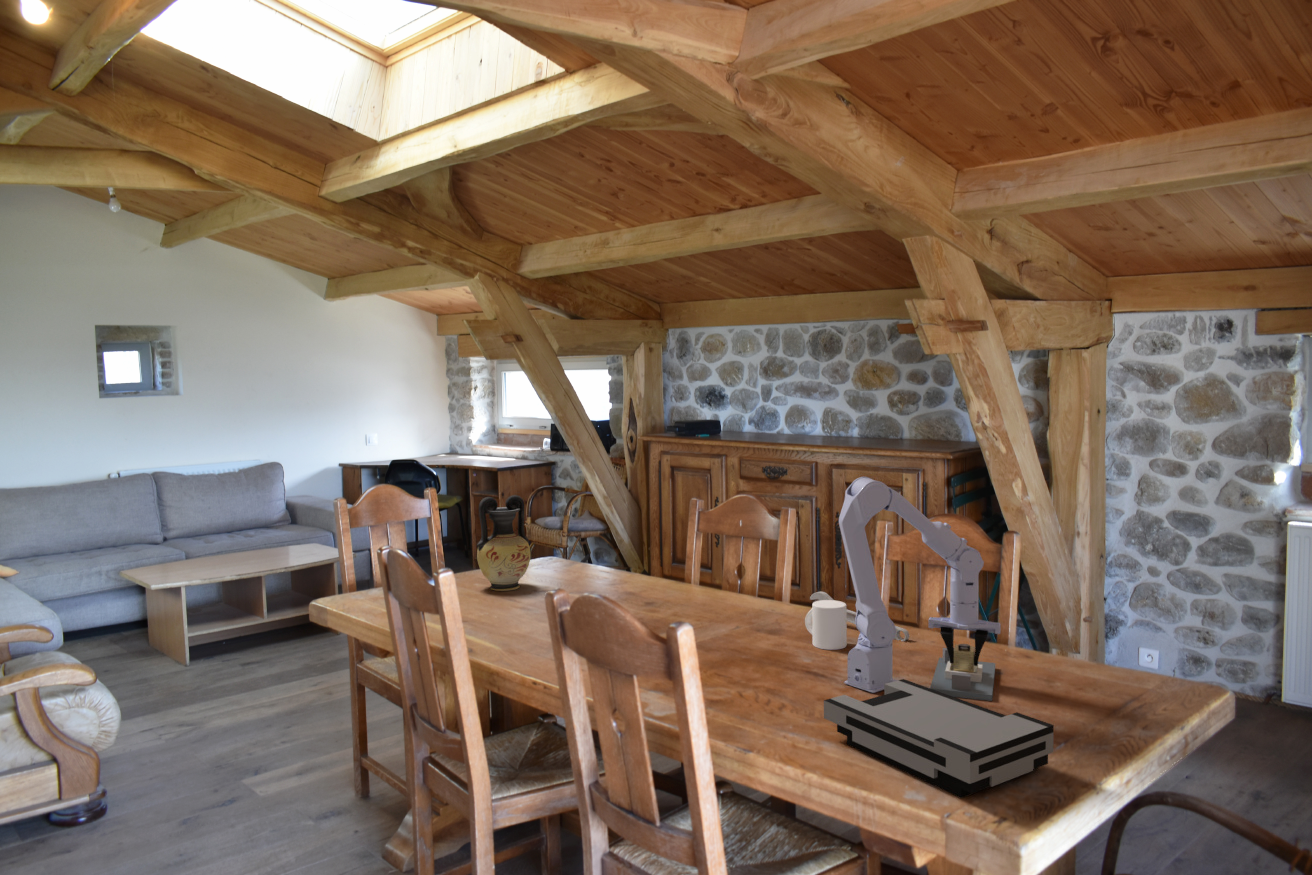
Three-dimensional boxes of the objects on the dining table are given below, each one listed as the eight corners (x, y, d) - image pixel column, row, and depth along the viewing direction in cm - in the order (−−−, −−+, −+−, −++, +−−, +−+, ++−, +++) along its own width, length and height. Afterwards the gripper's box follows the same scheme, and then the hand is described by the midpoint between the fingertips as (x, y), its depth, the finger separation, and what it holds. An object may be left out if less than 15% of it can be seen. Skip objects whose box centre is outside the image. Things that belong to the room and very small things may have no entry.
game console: (903, 713, 171) (903, 672, 171) (1052, 773, 144) (1053, 724, 144) (823, 737, 160) (823, 693, 160) (969, 807, 133) (969, 754, 133)
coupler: (953, 677, 188) (953, 647, 187) (954, 671, 191) (955, 641, 191) (973, 679, 186) (973, 649, 185) (974, 673, 190) (974, 643, 189)
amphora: (514, 579, 297) (512, 491, 295) (541, 587, 284) (539, 495, 282) (467, 587, 286) (465, 496, 284) (493, 596, 273) (491, 500, 271)
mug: (829, 609, 210) (794, 600, 220) (829, 652, 211) (795, 640, 221) (853, 604, 215) (818, 595, 225) (853, 645, 216) (818, 635, 225)
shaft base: (992, 700, 177) (992, 680, 176) (929, 693, 181) (929, 673, 181) (995, 668, 197) (995, 649, 197) (939, 662, 202) (939, 644, 201)
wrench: (903, 653, 219) (807, 617, 241) (907, 651, 220) (811, 616, 242) (907, 622, 218) (810, 589, 239) (911, 621, 219) (814, 588, 241)
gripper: (927, 602, 187) (927, 664, 188) (1000, 607, 182) (999, 672, 182) (930, 594, 194) (930, 655, 195) (1000, 600, 188) (1000, 662, 189)
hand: (964, 663), depth 189 cm, fingers open, 4 cm apart
